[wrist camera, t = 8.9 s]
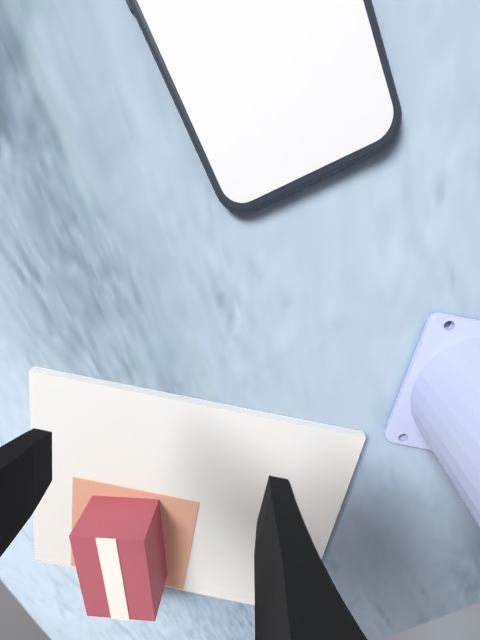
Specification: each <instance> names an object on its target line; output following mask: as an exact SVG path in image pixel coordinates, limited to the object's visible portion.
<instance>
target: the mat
mask: <svg viewBox="0 0 480 640" xmlns="http://www.w3.org/2000/svg"><path fill="white" fill-rule="evenodd" d="M29 403H30V430H32V429H33V428H35V429H40V430H45V431H50V432H52V482H51V483H50V485H49V487H48V489H47V490H46V492H45V494H44V496H43V498H42V499H41V501H40V502H39V504H38V506H37V507H36V509H35V511H34V512H33V534H34V560H36V561H41V562H46V563H51V564H56V565H61V566H65V567H70V568H75V569H76V565H75V561H74V556H73V552H72V548H71V543H70V539H69V535H70V533H71V531H72V530H73V528H74V526H75V525H76V523H77V521H78V519H79V518H80V516H81V514H82V512H83V511H84V509H85V507H86V506H87V504H88V502H89V500H90V499H91V497H92V496H110V497H128V498H146V499H159V504H160V513H161V522H162V531H163V540H164V549H165V558H166V567H167V578H166V582H165V585H164V587H168V588H173V589H178V590H182V591H187V592H192V593H197V594H202V595H207V596H212V597H217V598H221V599H226V600H231V601H236V602H241V603H246V604H251V605H255V588H254V551H255V538H256V526H257V519H258V516H259V512H260V508H261V504H262V500H263V497H264V493H265V489H266V485H267V482H268V478H269V476H274V477H279V478H284V479H288V480H289V482H290V484H291V487H292V490H293V493H294V496H295V499H296V502H297V505H298V507H299V510H300V512H301V515H302V518H303V520H304V523H305V525H306V527H307V530H308V532H309V534H310V536H311V539H312V541H313V543H314V546H315V548H316V550H317V552H318V554H319V556H320V558H321V559H322V557H323V554H324V551H325V549H326V546H327V543H328V540H329V538H330V535H331V532H332V529H333V527H334V524H335V521H336V519H337V516H338V513H339V510H340V508H341V505H342V502H343V500H344V497H345V494H346V491H347V489H348V486H349V483H350V480H351V478H352V475H353V472H354V470H355V467H356V464H357V461H358V459H359V456H360V453H361V451H362V448H363V445H364V442H365V440H366V436H365V434H364V431H359V430H354V429H349V428H344V427H339V426H334V425H329V424H324V423H319V422H313V421H308V420H303V419H298V418H293V417H288V416H283V415H278V414H273V413H268V412H263V411H258V410H253V409H248V408H243V407H238V406H233V405H228V404H223V403H218V402H213V401H208V400H203V399H198V398H193V397H188V396H183V395H178V394H173V393H167V392H162V391H157V390H152V389H147V388H142V387H137V386H132V385H127V384H122V383H117V382H112V381H107V380H102V379H97V378H92V377H87V376H82V375H77V374H72V373H67V372H62V371H57V370H52V369H47V368H42V367H37V366H34V367H33V368H32V369H30V370H29Z"/></svg>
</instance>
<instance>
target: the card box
mask: <svg viewBox="0 0 480 640" xmlns="http://www.w3.org/2000/svg"><path fill="white" fill-rule="evenodd" d="M69 539H70V543H71V548H72V552H73V556H74V561H75V565H76V569H77V574H78V578H79V582H80V587H81V591H82V595H83V600H84V604H85V608H86V612H87V616H98V617H110V618H111V619H117V620H130V619H135V620H147V621H155V619H156V616H157V612H158V608H159V604H160V600H161V597H162V593H163V589H164V585H165V582H166V578H167V567H166V558H165V549H164V540H163V531H162V522H161V513H160V504H159V499H146V498H128V497H110V496H92V497H91V499H90V500H89V502H88V504H87V506H86V507H85V509H84V511H83V512H82V514H81V516H80V518H79V519H78V521H77V523H76V525H75V526H74V528H73V530H72V531H71V533H70V535H69Z"/></svg>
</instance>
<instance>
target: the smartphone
mask: <svg viewBox="0 0 480 640" xmlns="http://www.w3.org/2000/svg"><path fill="white" fill-rule="evenodd" d="M126 2H127V4H128V6H129V9H130V11H131V13H132V14H133V15H134V17H135V18H136V19H137V21H138V23H139V26H140V28H141V30H142V32H143V34H144V37H145V39H146V41H147V43H148V45H149V48H150V50H151V52H152V54H153V56H154V59H155V61H156V63H157V65H158V67H159V70H160V72H161V74H162V76H163V78H164V81H165V83H166V85H167V87H168V89H169V92H170V94H171V96H172V98H173V101H174V103H175V105H176V107H177V109H178V112H179V114H180V116H181V118H182V120H183V123H184V125H185V127H186V129H187V131H188V134H189V136H190V138H191V140H192V142H193V145H194V147H195V149H196V151H197V153H198V156H199V158H200V160H201V162H202V164H203V167H204V169H205V171H206V173H207V175H208V178H209V180H210V182H211V184H212V186H213V189H214V191H215V193H216V195H217V197H218V199H219V201H220V202H221V203H222V204H223V205H224V206H225V207H226V208H227V209H229V210H231V211H233V212H237V213H249V212H252V211H254V210H257V209H259V208H261V207H263V206H265V205H267V204H269V203H271V202H274V201H276V200H278V199H280V198H282V197H284V196H286V195H288V194H291V193H293V192H295V191H297V190H299V189H301V188H303V187H305V186H308V185H310V184H312V183H314V182H316V181H318V180H320V179H322V178H325V177H327V176H329V175H331V174H333V173H335V172H337V171H340V170H342V169H344V168H346V167H348V166H350V165H352V164H354V163H357V162H359V161H361V160H363V159H365V158H367V157H369V156H371V155H374V154H376V153H378V152H380V151H381V150H383V149H385V148H386V147H387V146H388V145H389V144H390V143H391V142H392V141H393V139H394V138H395V136H396V135H397V133H398V130H399V128H400V124H401V118H402V112H401V106H400V102H399V99H398V95H397V92H396V88H395V84H394V81H393V77H392V73H391V70H390V66H389V63H388V59H387V55H386V52H385V48H384V44H383V41H382V37H381V34H380V30H379V26H378V23H377V19H376V15H375V12H374V8H373V5H372V1H371V0H126Z"/></svg>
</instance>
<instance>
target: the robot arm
mask: <svg viewBox="0 0 480 640" xmlns="http://www.w3.org/2000/svg"><path fill="white" fill-rule="evenodd" d="M447 321H451V324H450V326H449V327H447V328H444V324H445V323H446V322H447ZM401 434H405V435H404V436H403V437H399V436H400V435H401ZM384 435H385V438H386V439H387V440H388V441H389V442H391V443H396V444H402V445H407V446H412V447H417V448H422V449H427V450H432V451H433V453H434V454H435V456H436V458H437V459H438V461H439V463H440V464H441V466H442V467H443V469H444V471H445V472H446V474H447V476H448V477H449V479H450V480H451V482H452V484H453V485H454V487H455V489H456V490H457V492H458V493H459V495H460V497H461V498H462V500H463V502H464V503H465V505H466V506H467V508H468V510H469V511H470V513H471V515H472V516H473V518H474V520H475V521H476V523H477V524H478V526H479V528H480V320H476V319H471V318H466V317H461V316H456V315H451V314H446V313H440V312H436V313H433V314H431V315H430V316H429V317H428V319H427V321H426V323H425V326H424V328H423V331H422V334H421V336H420V339H419V341H418V344H417V347H416V349H415V352H414V354H413V357H412V360H411V362H410V365H409V367H408V370H407V373H406V375H405V378H404V380H403V383H402V385H401V388H400V391H399V393H398V396H397V398H396V401H395V404H394V406H393V409H392V411H391V414H390V417H389V419H388V422H387V424H386V427H385V430H384ZM51 482H52V432H50V431H45V430H40V429H35V428H33V429H32V430H30V431H28V432H26V433H24V434H22V435H21V436H19V437H17V438H15V439H14V440H12V441H10V442H8V443H7V444H5V445H3V446H1V447H0V557H1V555H2V554H3V553H4V551H5V550H6V549H7V547H8V546H9V545H10V543H11V542H12V541H13V539H14V538H15V537H16V535H17V534H18V533H19V531H20V530H21V529H22V527H23V526H24V525H25V523H26V522H27V520H28V519H29V518H30V516H31V515H32V514H33V512H34V511H35V509H36V507H37V506H38V504H39V502H40V501H41V499H42V498H43V496H44V494H45V492H46V490H47V489H48V487H49V485H50V483H51ZM254 588H255V640H367V638H366V637H365V635H364V634H363V632H362V631H361V629H360V628H359V626H358V624H357V623H356V621H355V619H354V618H353V616H352V615H351V613H350V611H349V610H348V608H347V606H346V605H345V603H344V601H343V600H342V598H341V596H340V594H339V593H338V591H337V589H336V587H335V585H334V584H333V582H332V580H331V578H330V576H329V574H328V572H327V570H326V568H325V566H324V564H323V562H322V560H321V558H320V556H319V554H318V552H317V550H316V548H315V546H314V543H313V541H312V539H311V536H310V534H309V532H308V530H307V527H306V525H305V523H304V520H303V518H302V515H301V512H300V510H299V507H298V505H297V502H296V499H295V496H294V493H293V490H292V487H291V484H290V482H289V480H288V479H284V478H279V477H274V476H269V478H268V482H267V485H266V489H265V493H264V497H263V500H262V504H261V508H260V512H259V516H258V519H257V526H256V538H255V551H254Z"/></svg>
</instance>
